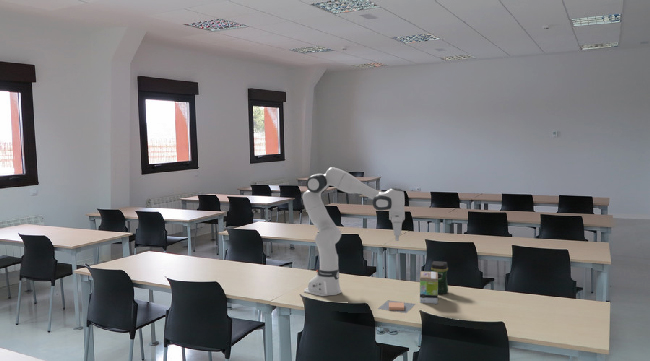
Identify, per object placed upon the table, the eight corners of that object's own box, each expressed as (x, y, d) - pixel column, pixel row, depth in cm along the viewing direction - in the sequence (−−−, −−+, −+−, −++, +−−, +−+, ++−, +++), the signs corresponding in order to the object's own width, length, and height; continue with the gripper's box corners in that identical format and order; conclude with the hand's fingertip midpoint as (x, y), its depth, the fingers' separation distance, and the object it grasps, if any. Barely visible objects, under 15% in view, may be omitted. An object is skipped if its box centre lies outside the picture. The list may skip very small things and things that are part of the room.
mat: (377, 309, 279) (377, 308, 279) (388, 301, 293) (388, 300, 293) (406, 314, 272) (406, 312, 271) (415, 305, 286) (415, 303, 286)
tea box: (438, 304, 286) (438, 278, 285) (419, 303, 288) (419, 277, 287) (437, 296, 301) (437, 271, 300) (420, 295, 303) (420, 270, 302)
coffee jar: (449, 291, 309) (449, 260, 308) (446, 295, 302) (446, 263, 300) (433, 289, 313) (433, 259, 312) (429, 293, 306) (429, 262, 305)
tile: (388, 302, 284) (388, 306, 276) (403, 302, 283) (404, 307, 275) (388, 305, 284) (388, 310, 276) (403, 305, 283) (404, 310, 275)
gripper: (391, 213, 308) (391, 236, 309) (391, 219, 287) (391, 243, 289) (402, 213, 307) (402, 236, 308) (402, 219, 287) (403, 244, 288)
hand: (397, 240), depth 298 cm, fingers closed
